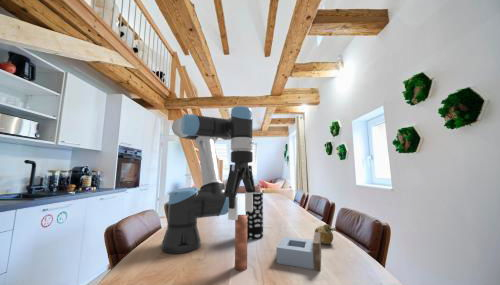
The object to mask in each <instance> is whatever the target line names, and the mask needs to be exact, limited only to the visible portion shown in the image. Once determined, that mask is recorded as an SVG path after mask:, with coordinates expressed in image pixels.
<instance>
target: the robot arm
mask: <svg viewBox="0 0 500 285" xmlns="http://www.w3.org/2000/svg"><path fill="white" fill-rule="evenodd" d="M171 130H172V132H173V134H174V135H176V136H177V137H179V138H181V139H185V140H194V144H195V145H196V146H197V147H198V155H199V164H200V173H201V180H202V181H201V182H202V185H201V186H200V187H199V188H198V187H197V186H192V187H183V188H182V187H181V188H177V189H175V190H172V191H171V192H170V193H169V196H168V203H167V204H168V210H167V212H168V213H167V227H166V230H165V234H164V236H163V238H162V239H163V240H162V242H161V251H162V252H163V253H167V254H185V253H189V252H192V251H195V250H197V249H199V248H200V247H201V237H200V232H199V228H198V224H197V223H198V219H202V218H203V219H204V218H210V217H219V216H224V215H227V214H228V215H227V216H228V217H227V220H228V221H230V220H231V221H235V220H238V215H239V214H238V213H239V212H238V210H239V209H238V208H239V207H238V206H239V205H238V202H239V201H238V200H239V199H238V196H237V194H238V191H239V189H240V185H241V182H242V183H243V185H244V190H245V191H246V192H245V193H244V197H245V199H244V204H245V205H244V208H245V209H244V211H245V212H246V211H251V212H252V211H253V193H252V192H256V186H255V181H254V175H253V174H254V173H253V166H252V165H249V164H250V163H253V158H254V157H253V151H252V150H253V144H254V143H255V142H254V141H253V111H252V109H251V108H250V107H248V106H245V105H244V106H243V105H240V106H239V105H238V106H237V105H236V106H234V107H232V108H231V111H230V118H221V117H212V116H206V115H205V116H204V115H198V114H195V113H192V114H189V113H185V114H183V116H182V117H180V118H177V119H175V120H174V121H173V123H172V125H171ZM219 138H220V139H222V140H223V141H224V140H225V141H230V150H231V152H230V162H231V163H233V164H229V172H228V177H227V180H226V185H225V183H224V182H222V181H221V176H220V171H219V170H220V169H219V165H218V158H217V152H216V147H215V143H216V142H217V141H218V139H219Z"/></svg>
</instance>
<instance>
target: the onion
mask: <svg viewBox="0 0 500 285" xmlns="http://www.w3.org/2000/svg"><path fill="white" fill-rule="evenodd" d="M336 231H337V228H336V227H332V226H331V225H330V224H328V223H327V224H323V225H322V226H321V225H320V226H318V227H317V228H315V229H314V233H315V232H320V235H321V244H323V245H330V244H332V243H333V241H334V234H333V232H336Z"/></svg>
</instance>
